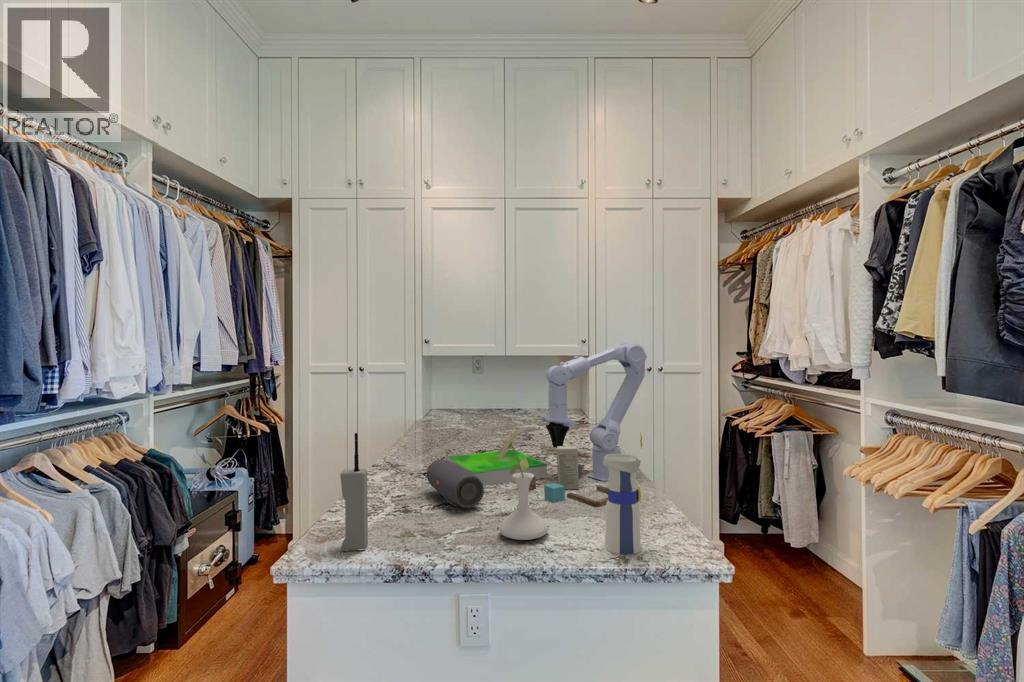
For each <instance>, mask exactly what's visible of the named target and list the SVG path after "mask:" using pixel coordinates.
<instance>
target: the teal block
mask: <svg viewBox="0 0 1024 682" xmlns="http://www.w3.org/2000/svg"><path fill="white" fill-rule="evenodd" d="M543 486H544V493H543V495H544V500H545V499H546V500H545V501H547V500H548V502H550V501H551V502H550V503H552V502H553V504H555V503H554V502H556V503H559V502H558V501H560V502H563V500H564V501H566V489H565V486H563V485H560V484H558V482H557V483H556V482H555V483H549V484H545V485H543Z"/></svg>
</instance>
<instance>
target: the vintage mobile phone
mask: <svg viewBox="0 0 1024 682" xmlns="http://www.w3.org/2000/svg"><path fill="white" fill-rule="evenodd" d="M358 437H359V436H358V433H357V432H355V433H354V456H353V457H354V459H353V460H354V464H353V465H354V468H352V469H351V468H348V469H346V468H345V469H343V470H342V471H341V472H340V473H339V475H340V483H341V484H340V485H341V494H342V495H341V496H342V498H343V500H344V502H345V503H344V509H345V510H344V511H345V512H344V514H345V517H344V518H345V521H344V522H345V537H344V540H343V541H342V543H341V546H340V548H341V550H358V549H365V550H366V548H367V545H368V543H369V532H368V531H369V526H368V525H369V523H368V522H369V521H368V520H369V519H368V516H369V514H368V513H369V512H368V511H369V509H368V470H367V468H360V467H359V448H358V447H359V443H358V442H359V439H358ZM341 550H340V551H341Z"/></svg>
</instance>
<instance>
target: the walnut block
mask: <svg viewBox="0 0 1024 682" xmlns="http://www.w3.org/2000/svg"><path fill="white" fill-rule="evenodd" d="M534 489H536V490H537V480H536V476H534V477H533V478H532V480H531V482H530V485H529V490H533V491H535V490H534Z"/></svg>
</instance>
